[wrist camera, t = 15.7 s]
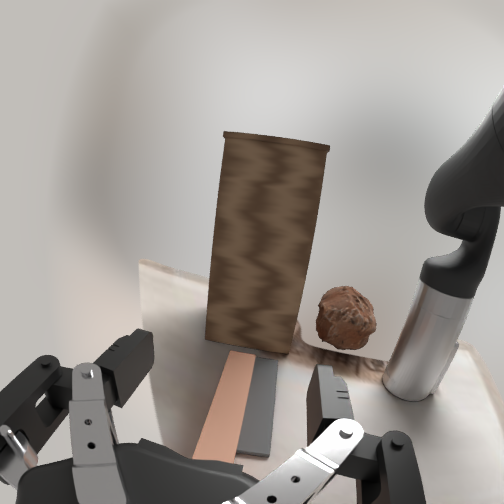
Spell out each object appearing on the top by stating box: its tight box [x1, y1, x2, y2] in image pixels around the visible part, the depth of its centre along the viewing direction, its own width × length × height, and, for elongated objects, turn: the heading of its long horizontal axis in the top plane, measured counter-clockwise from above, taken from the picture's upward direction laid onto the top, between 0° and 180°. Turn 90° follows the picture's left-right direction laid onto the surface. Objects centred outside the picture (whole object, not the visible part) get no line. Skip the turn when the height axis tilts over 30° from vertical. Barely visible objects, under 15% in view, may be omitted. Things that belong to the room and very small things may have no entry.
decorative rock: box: [316, 286, 376, 350], centre depth 48 cm, size 13×11×10 cm
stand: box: [205, 131, 330, 354], centre depth 46 cm, size 15×15×32 cm
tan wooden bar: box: [192, 350, 256, 463], centre depth 26 cm, size 4×22×4 cm, turn 173°
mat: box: [236, 357, 278, 457], centre depth 32 cm, size 6×18×1 cm, turn 173°
